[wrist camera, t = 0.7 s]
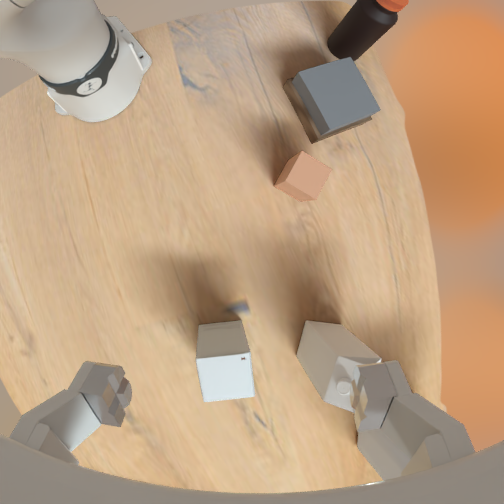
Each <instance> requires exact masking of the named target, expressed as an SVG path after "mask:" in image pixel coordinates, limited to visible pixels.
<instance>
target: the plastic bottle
mask: <svg viewBox="0 0 504 504" xmlns="http://www.w3.org/2000/svg"><path fill="white" fill-rule="evenodd" d="M357 447H358V449H359V451H360V452H361V453H362V454H363V456H364V457H365V458H366V459H367V461H368V462H369V463H370V464H371V466H372V467H373V468H374V469H375V470H376V472H377V473H378V474H379V475H380V477H381V478H382V479H383V480H388V479H393V478H397V477H401V472H402V471H403V469H404V468H405V467H406V465H407V464H408V463H409V461H410V460H411V459H410V458H409V457H408V456H407V455H406V454H405V453H403V452H402V451H401V450H400V449H399V448H398V447H397V446H396V445H395V444H394V443H393V442H392V441H391V440H390V439H389V438H388V437H387V436H386V435H385V434H384V433H383V432H382V431H381V430H380V429H374V430H367V431H359V432H358V442H357Z"/></svg>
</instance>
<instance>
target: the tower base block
mask: <svg viewBox="0 0 504 504" xmlns="http://www.w3.org/2000/svg"><path fill="white" fill-rule="evenodd" d="M293 79H294V78H291V79H288V80H287V81H286V83H285V85H284V86H283V89H284V91H285V93H286V95H287V96H288V98H289V100H290V102H291V104H292V106H293V108H294V110H295V112H296V113H297V115H298V117H299V119H300V121H301V123H302V125H303V127H304V129H305V131H306V133H307V135H308V137H309V139H310V141H311V143H312V144H313V143H315V142H318V141H320V140H323V139H325V138H328V137H330V136H333V135H336V134H338V133H341V132H343V131H346V130H349V129H351V128H354V127H357V126H359V125H362V124H364V123H366V122H368V121H370V120H372V118H371V116H369V117H367V118H364V119H361V120H359V121H356V122H354V123H351V124H349V125H346V126H344V127H341V128H339V129H336V130H334V131H331V132H329V133H326V134H324V135H322V136H321V135H320V133H319V131H318V129H317V127H316V125H315V123H314V121H313V119H312V117H311V116H310V114H309V112H308V110H307V108H306V106H305V104H304V103H303V101H302V99H301V97H300V96H299V94H298V92H297V90H296V88H295V87H294V85H293V83H292V81H293Z"/></svg>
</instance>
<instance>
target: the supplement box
mask: <svg viewBox="0 0 504 504" xmlns="http://www.w3.org/2000/svg"><path fill="white" fill-rule="evenodd" d="M196 365H197V371H198V377H199V382H200V387H201V392H202V396H203V400H204V402H210V401H220V400H229V399H238V398H248V397H254V396H255V391H254V381H253V372H252V363H251V353H250V349H249V345H248V342H247V338H246V335H245V331H244V327H243V324H242V320H239V321H230V322H221V323H211V324H202V325H199V327H198V338H197V350H196Z"/></svg>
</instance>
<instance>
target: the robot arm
mask: <svg viewBox="0 0 504 504" xmlns="http://www.w3.org/2000/svg"><path fill="white" fill-rule="evenodd" d="M141 56H143V58H141V59H140V57H141ZM0 59H10V60H14V61H18V62H20V63H22V64H24V65H26V66H27V67H29V68H30V69H32V70H33V71H35V72H36V73H37V74H38V75H39V77H40V79H41V80H42V81H43V83H44V84H45V85H46V86H47V87H48V91H47V94H48V96H49V97H50V98H51V99H52V100H54V101H55V110H56V112H57V113H58V114H60V115H72V116H74V117H76V118H78V119H80V120H83V121H86V122H99V121H103V120H106V119H109V118H111V117H113V116H115V115H117V114H118V113H120V112H121V111H122V110H124V109H125V108H126V107H127V106H128V105H129V104H130V103H131V101H132V100H133V99H134V97H135V96H136V94H137V92H138V90H139V87H140V84H141V80H142V77H143V75H144V73H145V72H146V71H147V70H148V68H149V67H150V65H151V64H152V59H151V57H150V56H149V55H148V54H147V52H146V51H145V50H144V49H143V47H142V46H141V45H140V44H139V43H138V41H137V40H136V39H135V38H134V37H133V35H132V34H131V33H130V32H129V31H128V30H127V28H126V27H125V26H124V25H123V24H122V22H121V21H120V20H119V19H118V18H117V17H116V16H110V17H106V16H105V15H103V14H101V13H100V11H99V9H98V7H97V5H96V3H95V1H94V0H0ZM124 375H125V372H124V370H123V368H122V367H121V366H117V365H110V364H104V363H96V362H90V361H86V362H84V363H83V364H82V366H81V368H80V369H79V371H78V373H77V374H76V376H75V378H74V379H73V381H72V383H71V385H70V386H69V388H68V390H65V389H64V390H63V391H61V392H59V393H58V394H56V395H55V396H53V397H51V398H50V399H48V400H46V401H45V402H43V403H42V404H40V405H38V406H37V407H35V408H33V409H32V410H30V411H28V412H27V413H25V414H23V415H22V416H21V419H20V420H19V422H18V423H17V425H16V427H15V429H14V430H13V432H12V434H11V436H10V437H6V436H4V435H2V434H0V504H504V440H503V441H501V442H499V443H497V444H494V445H492V446H490V447H488V448H485V449H483V450H481V451H478V452H475V450H474V448H473V445H472V443H471V440H470V438H469V436H468V433H467V431H466V429H465V427H464V425H463V424H462V423H460V422H459V421H457V420H455V419H454V418H453V417H451V416H450V415H448V414H447V413H445V412H444V411H442V410H441V409H439V408H438V407H436V406H435V405H433V404H432V403H430V402H429V401H428V400H426V399H425V398H423V397H422V396H420V395H419V394H417V393H412V391H411V389H410V386H409V384H408V382H407V379H406V377H405V375H404V372H403V370H402V368H401V366H400V363H399V362H398V361H397V360H393V361H386V362H379V363H371V364H364V365H356V366H355V368H354V371H353V375H354V380H353V381H352V382H351V385H350V402H351V407H352V408H354V409H355V410H356V411H355V414H354V420H355V424H356V429H357V432H359V431H367V430H374V429H380V430H381V431H382V432H383V433H384V434H385V435H386V436H387V437H388V438H389V439H390V440H391V441H392V442H393V443H394V444H395V445H396V446H397V447H398V448H399V449H400V450H401V451H402V452H403V453H405V454H406V455H407V456H408V457H409V458H410V459H411V460H410V461H409V463H408V464H407V465H406V467H405V468H404V469H403V471H402V472H401V477H397V478H393V479H388V480H384V481H379V482H374V483H368V484H363V485H357V486H351V487H344V488H336V489H328V490H319V491H307V492H292V493H228V492H213V491H201V490H192V489H183V488H176V487H169V486H163V485H157V484H151V483H146V482H141V481H136V480H131V479H127V478H122V477H118V476H114V475H110V474H106V473H103V472H99V471H95V470H92V469H89V468H85V467H82V466H79V465H78V464H79V461H78V459H77V458H76V457H75V456H74V455H73V454H72V453H71V451H72V450H74V449H75V448H76V447H77V446H78V445H79V444H80V443H82V442H83V441H84V440H85V439H86V438H87V437H88V436H89V435H91V434H92V433H93V432H94V431H95V430H96V429H97V428H98V427H100V426H101V424H105V425H111V426H117V427H121V424H122V422H123V419H124V417H125V414H126V413H125V411H124V408H125V407H127V406H128V405H129V404H130V401H131V397H132V389H131V385H130V383H129V381H128V380H127V379H126V378H124Z"/></svg>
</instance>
